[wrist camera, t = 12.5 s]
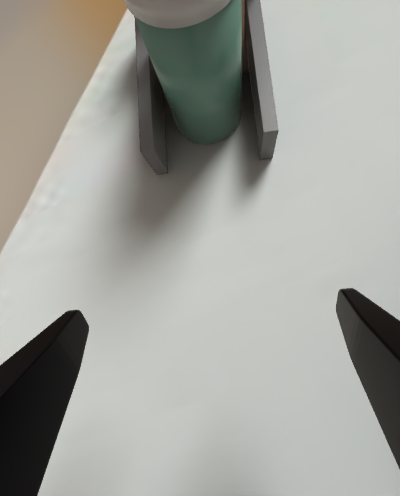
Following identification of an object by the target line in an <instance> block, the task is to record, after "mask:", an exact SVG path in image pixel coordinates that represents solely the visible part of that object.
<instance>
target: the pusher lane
mask: <svg viewBox="0 0 400 496" xmlns="http://www.w3.org/2000/svg"><path fill="white" fill-rule="evenodd" d="M135 32H136V57H137V81H138V105H139V129H140V151H141V153H142V154H143V156H144V157H145V158H146V160H147V161H148V163H149V164H150V166H151V167H152V168H153V170H154V171H155V173H156V174H162V173H168V171H167V154H166V138H165V121H164V104H163V89H162V87H161V84H160V82H159V79H158V77H157V74H156V71H155V69H154V66H153V64H152V61H151V58H150V56H149V53H148V51H147V48H146V45H145V43H144V40H143V38H142V35H141V32H140V30H139V27H138V25H137V22H136V20H135ZM244 39H245V43H246V51H247V59H248V67H249V75H250V83H251V90H252V98H253V106H254V114H255V122H256V130H257V138H258V146H259V154H260V160H261V159H268V158H272V157H273V153H274V148H275V143H276V139H277V134H278V123H277V116H276V109H275V102H274V95H273V88H272V81H271V74H270V67H269V60H268V53H267V46H266V39H265V32H264V25H263V18H262V11H261V4H260V0H245V2H244Z"/></svg>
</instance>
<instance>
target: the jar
mask: <svg viewBox="0 0 400 496" xmlns="http://www.w3.org/2000/svg"><path fill="white" fill-rule="evenodd" d="M124 2H125V4H126V6H127V8H128V9H129V10H130V12H131V13H132V14H133V15H134V17H135V20H136V22H137V25H138V27H139V30H140V32H141V35H142V38H143V40H144V43H145V45H146V48H147V51H148V53H149V56H150V58H151V61H152V64H153V66H154V69H155V71H156V74H157V77H158V79H159V82H160V84H161V87H162V89H163V92H164V95H165V97H166V100H167V102H168V105H169V108H170V110H171V113H172V115H173V118H174V121H175V123H176V126H177V128H178V130H179V132H180V133H181V134H182V135H183V136H184V137H185V138H186V139H188V140H189V141H192V142H194V143H198V144H212V143H216V142H219V141H221V140H223V139H225V138H227V137H228V136H229V135H230V134H232V133H233V131H234V130H235V129H236V128H237V126H238V124H239V122H240V119H241V115H242V9H241V0H124Z"/></svg>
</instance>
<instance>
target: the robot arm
mask: <svg viewBox="0 0 400 496" xmlns="http://www.w3.org/2000/svg"><path fill="white" fill-rule="evenodd" d="M336 312H337V316H338V319H339V322H340V326H341V329H342V332H343V335H344V339H345V342H346V345H347V348H348V351H349V354H350V357H351V360H352V362H353V365H354V367H355V369H356V372H357V374H358V376H359V378H360V381H361V383H362V385H363V387H364V390H365V392H366V394H367V396H368V399H369V401H370V403H371V405H372V408H373V410H374V412H375V415H376V417H377V419H378V421H379V424H380V426H381V428H382V430H383V433H384V435H385V437H386V439H387V442H388V444H389V446H390V448H391V451H392V453H393V455H394V458H395V460H396V462H397V464H398V467H399V469H400V321H399V320H398V319H396V318H395V317H394V316H392V315H391V314H389V313H388V312H386V311H385V310H384V309H382V308H381V307H379V306H378V305H377V304H375V303H374V302H372V301H371V300H369V299H368V298H367V297H365V296H364V295H362V294H361V293H360V292H358V291H357V290H355V289H353V288H347V289H340V290H339V292H338V298H337V304H336ZM88 332H89V326H88V323H87V321H86V320H85V318H84V316H83V314H82V313H81V311H79V310H70V311H67V312H65V313H64V314H63V315H62V316H61V317H59V318H58V319H57V320H56V321H54V322H53V323H52V324H51V325H49V326H48V327H47V328H46V329H45V330H43V331H42V332H41V333H40V334H38V335H37V336H36V337H35V338H34V339H32V340H31V341H30V342H29V343H27V344H26V345H25V346H24V347H22V348H21V349H20V350H19V351H18V352H16V353H15V354H14V355H13V356H11V357H10V358H9V359H8V360H7V361H5V362H4V363H3V364H2V365H0V496H37V495H38V492H39V489H40V486H41V483H42V480H43V477H44V474H45V471H46V468H47V465H48V462H49V459H50V456H51V453H52V451H53V448H54V445H55V442H56V439H57V436H58V433H59V430H60V427H61V424H62V421H63V418H64V415H65V412H66V409H67V406H68V403H69V400H70V397H71V395H72V392H73V389H74V386H75V383H76V380H77V377H78V374H79V370H80V367H81V363H82V358H83V354H84V349H85V345H86V341H87V336H88Z"/></svg>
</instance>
